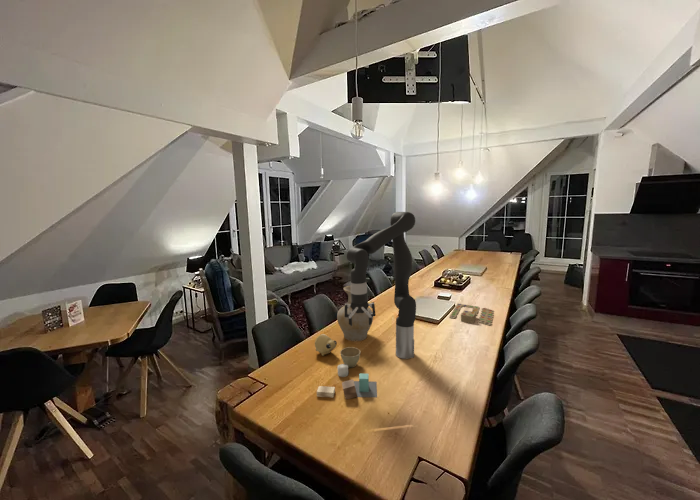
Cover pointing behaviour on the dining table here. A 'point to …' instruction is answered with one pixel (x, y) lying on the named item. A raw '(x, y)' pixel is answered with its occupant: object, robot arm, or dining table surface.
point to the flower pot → (350, 356)
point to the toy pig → (324, 344)
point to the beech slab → (325, 391)
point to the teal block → (363, 382)
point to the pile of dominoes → (473, 314)
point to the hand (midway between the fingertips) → (360, 324)
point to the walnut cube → (349, 389)
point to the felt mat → (371, 392)
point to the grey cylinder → (342, 370)
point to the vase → (353, 321)
